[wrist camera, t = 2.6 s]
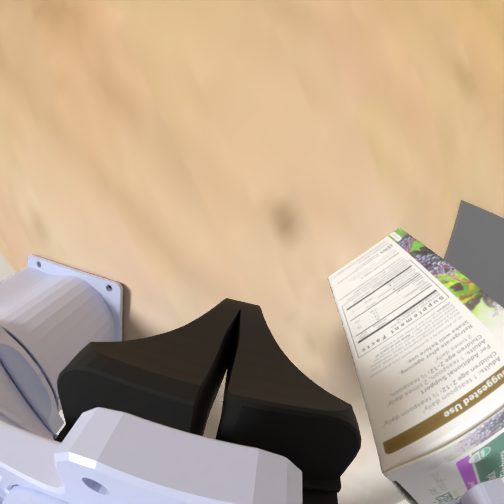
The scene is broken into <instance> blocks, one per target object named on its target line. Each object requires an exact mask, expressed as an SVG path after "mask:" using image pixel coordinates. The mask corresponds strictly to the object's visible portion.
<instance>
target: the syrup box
mask: <svg viewBox="0 0 504 504" xmlns="http://www.w3.org/2000/svg"><path fill="white" fill-rule="evenodd" d="M328 280H329V283H330V287H331V290H332V293H333V296H334V299H335V302H336V305H337V309H338V312H339V315H340V318H341V321H342V324H343V328H344V331H345V334H346V337H347V340H348V343H349V347H350V350H351V354H352V357H353V361H354V365H355V369H356V372H357V376H358V379H359V383H360V386H361V390H362V394H363V398H364V401H365V405H366V409H367V413H368V417H369V421H370V424H371V428H372V432H373V436H374V440H375V444H376V447H377V452H378V456H379V460H380V466H381V470H382V473H383V474H384V476H385V477H387V478H388V479H389V480H390V481H392V483H393V484H394V485H395V486H396V488H397V489H398V490H399V492H400V493H401V494H402V495H403V497H404V498H405V499H406V500H407V501H408V502H409V503H410V504H437V503H442V502H447V501H452V500H456V499H460V498H461V497H462V496H463V495H464V494H465V493H466V492H467V491H468V490H469V489H470V488H471V487H473V486H475V485H476V484H479V483H481V482H485V481H489V480H492V479H496V478H501V479H504V308H503V307H502V306H501V305H499V304H498V303H497V302H496V301H495V300H494V299H492V298H491V297H490V296H489V295H488V294H486V293H485V292H484V291H483V290H482V289H480V288H479V287H478V286H477V285H476V284H474V283H473V282H472V281H471V280H469V279H468V278H467V277H466V276H464V275H463V274H462V273H460V272H459V271H458V270H457V269H455V268H454V267H453V266H452V265H450V264H449V263H447V262H446V261H445V260H444V259H442V258H441V257H440V256H438V255H437V254H435V253H434V252H433V251H431V250H430V249H428V248H427V247H426V246H424V245H423V244H422V243H420V242H419V241H418V240H416V239H415V238H413V237H412V236H410V235H409V234H408V233H406V232H405V231H403V230H402V229H401V228H398V229H397V230H395V231H394V232H393V233H391V234H390V235H388V236H387V237H385V238H384V239H383V240H381V241H380V242H378V243H377V244H376V245H374V246H373V247H371V248H370V249H368V250H367V251H365V252H364V253H363V254H361V255H360V256H358V257H357V258H355V259H354V260H352V261H351V262H350V263H348V264H347V265H345V266H344V267H342V268H341V269H340V270H338V271H337V272H335V273H334V274H332V275H331V276H329V277H328Z"/></svg>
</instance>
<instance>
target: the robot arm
mask: <svg viewBox="0 0 504 504" xmlns="http://www.w3.org/2000/svg"><path fill="white" fill-rule="evenodd" d="M40 263H41V265H40ZM27 264H28V267H26V268H24V269H22V270H20V271H19V272H17V273H15V274H13V275H11V276H9V277H7V278H6V279H4V280H2V281H0V504H338V500H337V492H339V491H340V489H341V481H340V476H341V475H342V474H343V473H344V471H345V470H346V469H347V467H348V466H349V465H350V464H351V462H352V461H353V460H354V458H355V457H356V455H357V453H358V451H359V450H360V448H361V436H360V431H359V427H358V423H357V420H356V417H355V414H354V412H353V409H352V406H351V405H350V404H348V403H346V402H345V401H343V400H341V399H339V398H337V397H336V396H334V395H332V394H330V393H328V392H327V391H325V390H324V389H323V388H321V387H320V386H318V385H317V384H315V383H314V382H313V381H312V380H310V379H309V378H308V377H307V376H305V375H304V374H303V373H302V372H301V371H300V370H299V369H298V368H297V367H296V366H295V365H294V364H293V363H292V362H291V361H290V360H289V359H288V357H287V356H286V355H285V354H284V353H283V351H282V350H281V349H280V347H279V346H278V344H277V342H276V341H275V339H274V337H273V336H272V334H271V332H270V330H269V328H268V326H267V324H266V321H265V319H264V316H263V314H262V310H261V308H260V306H258V305H254V304H249V303H245V302H241V301H236V300H232V299H228V298H226V299H224V300H223V301H222V302H220V303H219V304H218V305H217V306H215V307H214V308H213V309H211V310H210V311H208V312H207V313H205V314H204V315H202V316H201V317H199V318H198V319H196V320H194V321H192V322H190V323H189V324H187V325H185V326H183V327H180V328H178V329H175V330H172V331H170V332H167V333H163V334H159V335H156V336H152V337H148V338H143V339H137V340H129V341H122V311H123V287H122V285H121V284H120V283H118V282H116V281H112V280H109V279H106V278H103V277H99V276H96V275H93V274H90V273H87V272H84V271H80V270H77V269H74V268H71V267H68V266H65V265H62V264H59V263H56V262H53V261H50V260H47V259H45V258H42V257H39V256H36V255H33V254H31V255H29V256H28V258H27ZM108 285H110V286H111V287H112V290H111V289H110V288H109V286H108ZM226 370H227V375H226V383H225V391H224V399H223V407H222V414H221V419H220V423H219V427H218V431H217V436H216V439H212V438H208V437H204V436H203V434H204V430H205V426H206V423H207V419H208V416H209V413H210V410H211V408H212V405H213V403H214V400H215V398H216V395H217V393H218V390H219V388H220V385H221V383H222V380H223V378H224V375H225V373H226ZM61 409H62V410H63V414H64V418H65V421H66V425H65V426H64V428H63V429H62V431H61V432H60V433H59V435H57V434H56V433H57V432H58V430H59V429H60V428H61V426H62V425H63V424H64V421H63V420H62V418H61V417H60V415H59V411H60V410H61ZM437 504H504V484H503V482H502V479H501V478H496V479H492V480H489V481H485V482H481V483H479V484H476V485H475V486H473V487H471V488H470V489H469V490H468V491H467V492H466V493H465V494H464V495H463V496H462V497H461V498H460V499H456V500H452V501H447V502H442V503H437Z"/></svg>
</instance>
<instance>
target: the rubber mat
mask: <svg viewBox="0 0 504 504" xmlns="http://www.w3.org/2000/svg"><path fill="white" fill-rule="evenodd" d="M444 260H445V261H446V262H447V263H449V264H450V265H452V266H453V267H454V268H455V269H457V270H458V271H459V272H460V273H462V274H463V275H464V276H466V277H467V278H468V279H469V280H471V281H472V282H473V283H474V284H476V285H477V286H478V287H479V288H480V289H482V290H483V291H484V292H485V293H486V294H488V295H489V296H490V297H491V298H492V299H494V300H495V301H496V302H497V303H498V304H499V305H501V306H502V307H503V308H504V218H501V217H499V216H497V215H495V214H493V213H490V212H488V211H486V210H484V209H481V208H479V207H477V206H474V205H472V204H469V203H467V202H465V201H462V200H461V203H460V207H459V211H458V215H457V218H456V222H455V225H454V229H453V232H452V235H451V239H450V242H449V245H448V248H447V251H446V254H445V257H444Z"/></svg>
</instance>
